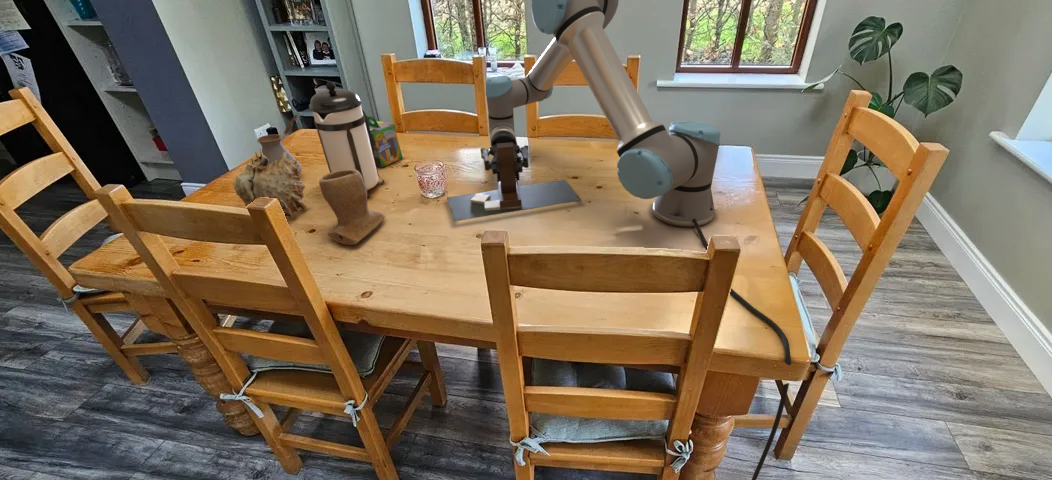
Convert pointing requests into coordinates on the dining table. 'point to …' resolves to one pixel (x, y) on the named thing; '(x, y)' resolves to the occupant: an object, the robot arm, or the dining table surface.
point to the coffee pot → (276, 145)
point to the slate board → (529, 199)
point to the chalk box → (384, 142)
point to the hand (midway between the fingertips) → (508, 175)
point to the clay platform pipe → (349, 206)
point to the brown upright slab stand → (508, 178)
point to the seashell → (272, 182)
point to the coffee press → (345, 133)
